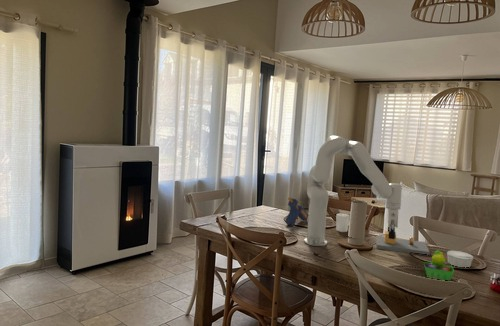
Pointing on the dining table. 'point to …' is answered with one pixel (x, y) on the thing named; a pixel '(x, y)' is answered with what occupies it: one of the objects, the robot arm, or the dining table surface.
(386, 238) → the orange cube
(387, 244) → the grey flat board
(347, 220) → the white cup
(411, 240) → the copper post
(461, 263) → the ramekin
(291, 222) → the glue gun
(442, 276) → the fruit basket
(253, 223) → the dining table surface
